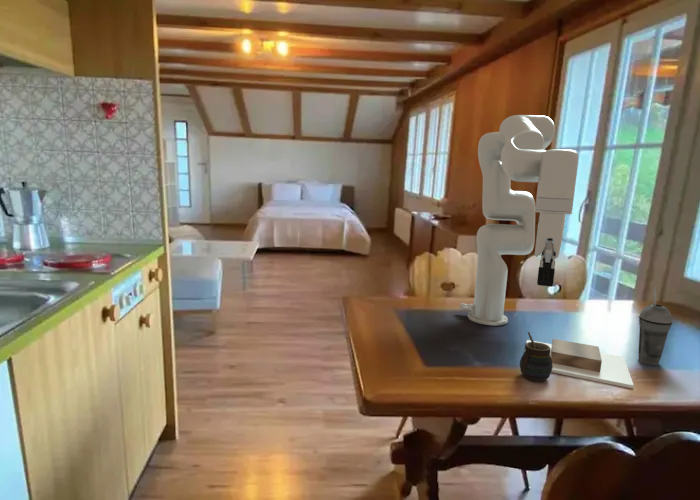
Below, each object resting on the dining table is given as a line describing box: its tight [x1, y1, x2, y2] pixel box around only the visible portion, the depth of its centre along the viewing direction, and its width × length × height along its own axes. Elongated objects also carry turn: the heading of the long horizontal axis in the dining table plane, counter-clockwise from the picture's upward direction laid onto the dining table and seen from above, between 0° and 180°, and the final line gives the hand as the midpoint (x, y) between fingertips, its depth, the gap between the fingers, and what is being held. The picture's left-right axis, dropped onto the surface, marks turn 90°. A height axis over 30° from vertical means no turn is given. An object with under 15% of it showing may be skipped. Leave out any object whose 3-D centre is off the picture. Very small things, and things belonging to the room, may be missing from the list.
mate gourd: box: [519, 331, 553, 383], centre depth 105 cm, size 7×8×10 cm
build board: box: [525, 339, 635, 389], centre depth 115 cm, size 24×18×1 cm
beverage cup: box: [638, 287, 673, 366], centre depth 116 cm, size 7×7×20 cm
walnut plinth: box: [551, 338, 602, 372], centre depth 115 cm, size 11×10×3 cm
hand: (545, 281), depth 102 cm, fingers open, 9 cm apart
